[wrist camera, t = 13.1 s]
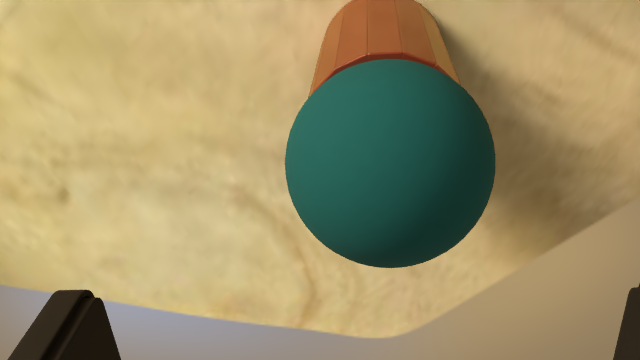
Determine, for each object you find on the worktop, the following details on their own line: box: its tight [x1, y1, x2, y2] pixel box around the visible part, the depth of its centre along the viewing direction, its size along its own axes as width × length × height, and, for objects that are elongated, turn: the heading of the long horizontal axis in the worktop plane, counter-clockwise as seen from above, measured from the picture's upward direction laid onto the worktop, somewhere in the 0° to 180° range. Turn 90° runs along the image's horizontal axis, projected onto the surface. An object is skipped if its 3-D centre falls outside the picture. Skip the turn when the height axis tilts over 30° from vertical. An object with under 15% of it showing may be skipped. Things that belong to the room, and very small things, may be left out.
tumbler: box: [308, 0, 461, 98], centre depth 23 cm, size 5×5×9 cm
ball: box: [285, 59, 495, 268], centre depth 17 cm, size 6×6×6 cm
